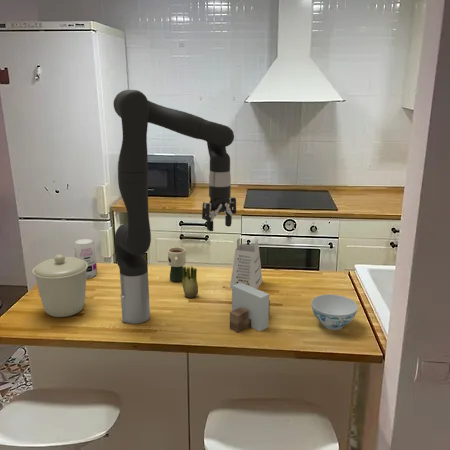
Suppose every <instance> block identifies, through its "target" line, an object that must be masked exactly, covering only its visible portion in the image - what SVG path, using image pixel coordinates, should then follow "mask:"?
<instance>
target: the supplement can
mask: <svg viewBox="0 0 450 450" xmlns="http://www.w3.org/2000/svg"><path fill="white" fill-rule="evenodd" d="M73 249H74V257H75V258H79V259H81V260H84V261H86V262H87V263H88V268H87V269H86V279H92V278H94V277H95V276H96V275H97V274H98V267H97V256H96V255H97V254H96V243H95V242H94V240H93V239H92V238H79V239H77V240H76V241H74V244H73Z"/></svg>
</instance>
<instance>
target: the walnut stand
mask: <svg viewBox="0 0 450 450" xmlns="http://www.w3.org/2000/svg"><path fill="white" fill-rule="evenodd" d="M270 305H271V300H270V299H269V314H270V310H271V309H270V307H271V306H270ZM248 315H249V311H248V310H246V309H244V308H242V307H240V308H238V309H236V310H234V311H232V310H231V311H230V312H229V329H230V330H231V331H233V332H236V333H240V332H241V331H242V330H243V331H244V330H245V329H247V328H249V327H251V319H249V318H248ZM269 317H270V315H269V316H268V318H269Z"/></svg>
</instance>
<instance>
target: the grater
mask: <svg viewBox="0 0 450 450" xmlns="http://www.w3.org/2000/svg"><path fill="white" fill-rule="evenodd" d="M240 239H244V240H251V241H253V242H254V244H248V243H247V244H246V243H241V240H240ZM258 241H259V240H258V238H257V236H253V235H252V236H250V235H240V236H239V238H238V239H237V240H236V248H235V249H234V256H233V264H232V270H231V271H232V272H231V276H230V277H231V278H230V284H229V289H232V285H235V284H237V282H238V283H240V282H241V283H243V284H246V285H248V286H251V287H253V288H255V289H258V290H259V287H260V286H261V284H262V282H263V274H262V265H261V264H262V263H261V255H260V246H259V245H258Z"/></svg>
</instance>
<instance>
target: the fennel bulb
mask: <svg viewBox="0 0 450 450" xmlns="http://www.w3.org/2000/svg"><path fill="white" fill-rule="evenodd" d="M182 270H183V280H181V282H182V289H183V293H184V295H185V297H186V298H189V299H191V298H195V297H197V295H198V294H199V284H198V281H197V280H198V279H197V271H198V268H197V267H194V266H186V265H184V266H183V267H182Z"/></svg>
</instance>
